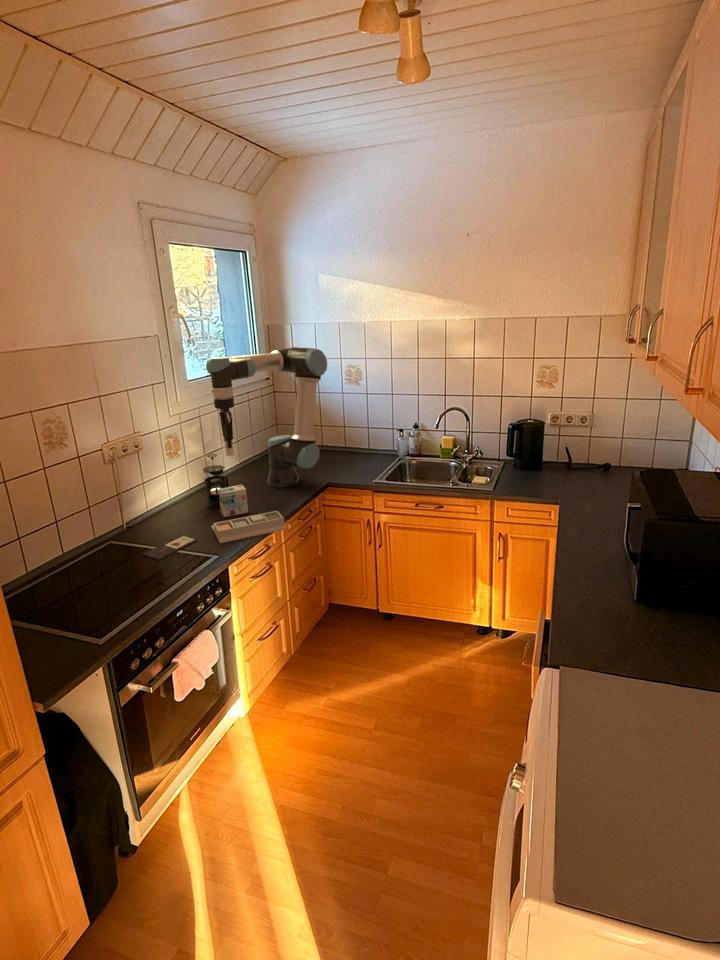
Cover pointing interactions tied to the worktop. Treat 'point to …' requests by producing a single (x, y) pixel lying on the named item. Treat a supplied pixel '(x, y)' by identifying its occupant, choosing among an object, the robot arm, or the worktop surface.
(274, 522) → the keypad board
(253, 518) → the sage key
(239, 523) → the slate key
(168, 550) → the chocolate bar
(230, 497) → the light bulb box
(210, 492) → the french press
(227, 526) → the terracotta key
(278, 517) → the charcoal key
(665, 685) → the worktop surface
